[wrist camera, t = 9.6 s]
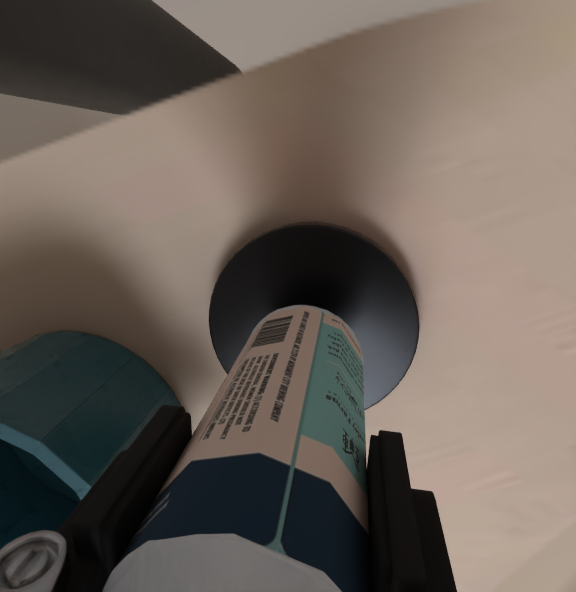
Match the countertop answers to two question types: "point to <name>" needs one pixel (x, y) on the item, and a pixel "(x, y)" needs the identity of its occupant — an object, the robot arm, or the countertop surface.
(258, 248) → the black plate
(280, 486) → the beer can
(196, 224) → the countertop surface
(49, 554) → the robot arm
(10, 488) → the pot
